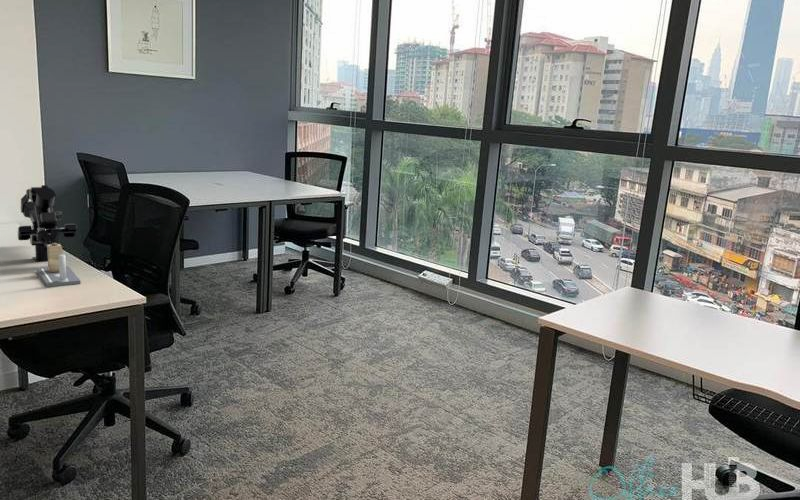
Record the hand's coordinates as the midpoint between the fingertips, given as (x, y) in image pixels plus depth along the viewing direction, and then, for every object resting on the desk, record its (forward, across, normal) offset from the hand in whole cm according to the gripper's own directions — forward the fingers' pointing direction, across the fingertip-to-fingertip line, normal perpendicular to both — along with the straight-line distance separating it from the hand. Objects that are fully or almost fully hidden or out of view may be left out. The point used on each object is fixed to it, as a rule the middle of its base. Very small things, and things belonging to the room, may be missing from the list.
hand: (51, 251), depth 219 cm
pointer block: (+8, 0, 0) cm, 8 cm away
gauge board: (+13, 0, -3) cm, 13 cm away
